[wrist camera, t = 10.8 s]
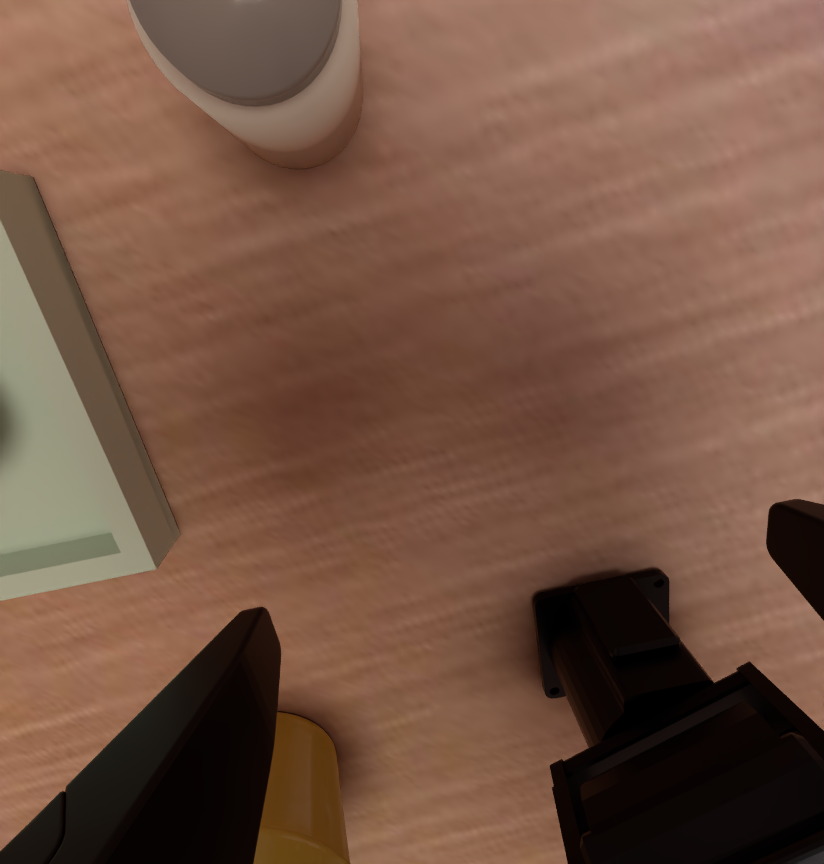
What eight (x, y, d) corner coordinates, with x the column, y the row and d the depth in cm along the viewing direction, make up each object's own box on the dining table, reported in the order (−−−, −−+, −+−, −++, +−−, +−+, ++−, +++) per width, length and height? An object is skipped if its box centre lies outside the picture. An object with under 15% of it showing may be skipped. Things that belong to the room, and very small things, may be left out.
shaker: (376, 154, 17) (378, 89, 10) (243, 180, 17) (155, 134, 10) (344, -12, 15) (322, -226, 8) (198, 17, 15) (56, -173, 8)
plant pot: (138, 707, 24) (-3, 980, 15) (341, 661, 24) (321, 907, 15) (212, 837, 28) (134, 1121, 19) (389, 797, 28) (396, 1063, 19)
